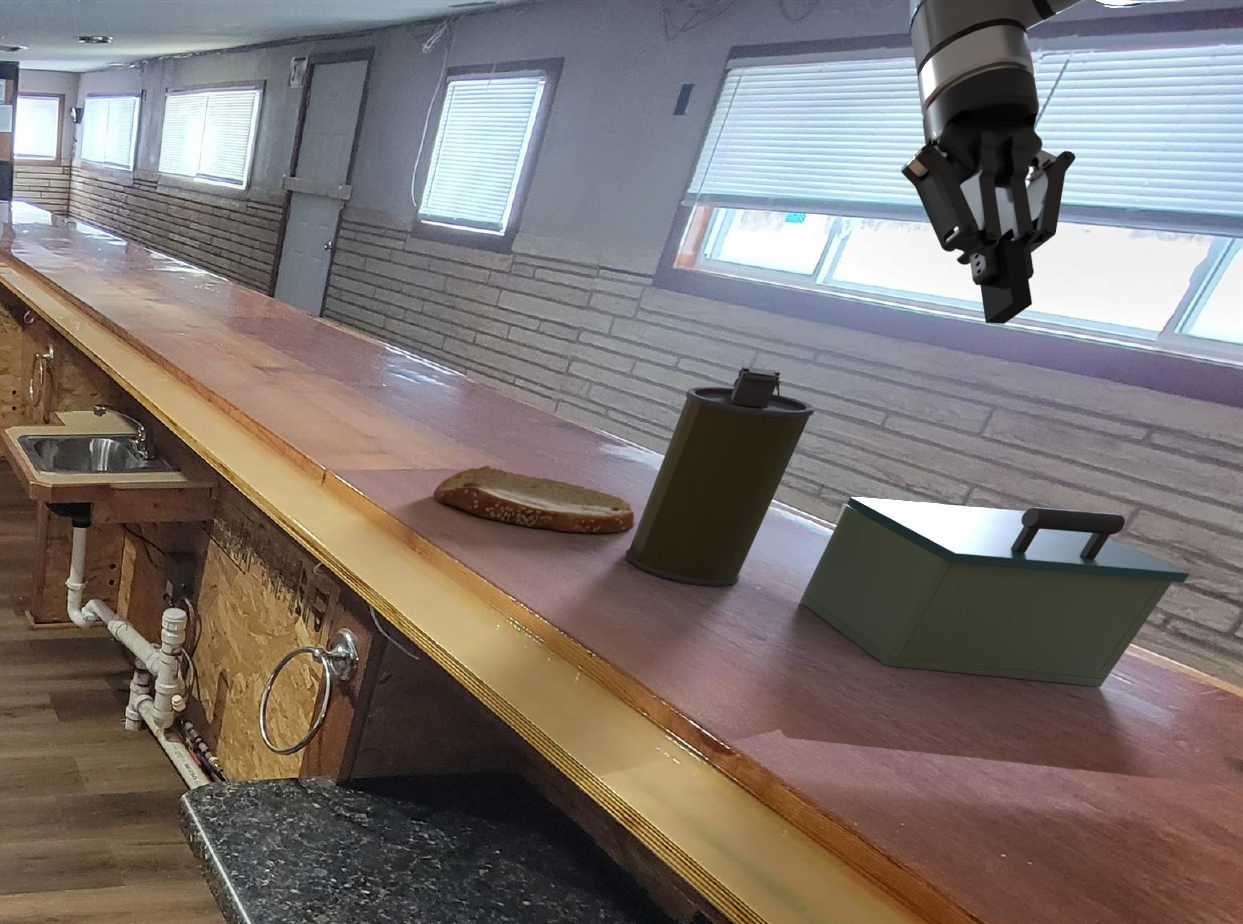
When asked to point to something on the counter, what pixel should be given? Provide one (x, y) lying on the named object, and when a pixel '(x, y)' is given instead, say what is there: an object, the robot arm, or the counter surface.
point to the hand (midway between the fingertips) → (1008, 313)
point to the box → (973, 609)
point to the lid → (1019, 538)
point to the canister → (718, 479)
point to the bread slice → (535, 502)
